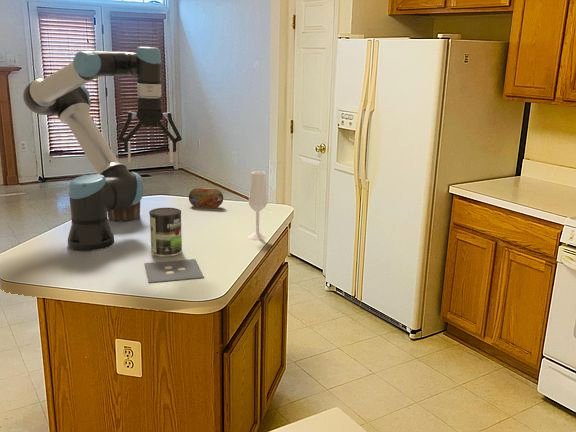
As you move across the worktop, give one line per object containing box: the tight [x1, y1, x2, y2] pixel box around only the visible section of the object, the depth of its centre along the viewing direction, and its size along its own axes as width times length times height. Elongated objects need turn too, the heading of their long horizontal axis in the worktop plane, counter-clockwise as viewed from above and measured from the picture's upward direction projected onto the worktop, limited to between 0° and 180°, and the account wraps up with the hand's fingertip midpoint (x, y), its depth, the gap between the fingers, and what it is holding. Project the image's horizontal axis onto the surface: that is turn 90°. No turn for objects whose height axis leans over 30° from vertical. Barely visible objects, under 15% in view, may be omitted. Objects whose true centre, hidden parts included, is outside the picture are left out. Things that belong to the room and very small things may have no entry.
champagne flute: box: [248, 170, 268, 241], centre depth 206 cm, size 7×7×24 cm
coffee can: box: [148, 207, 183, 258], centre depth 190 cm, size 10×10×14 cm
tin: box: [188, 187, 224, 209], centre depth 248 cm, size 15×3×8 cm, turn 81°
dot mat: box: [144, 258, 205, 284], centre depth 175 cm, size 16×16×1 cm
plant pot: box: [107, 175, 144, 223], centre depth 227 cm, size 16×16×16 cm
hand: (150, 161), depth 190 cm, fingers open, 13 cm apart
